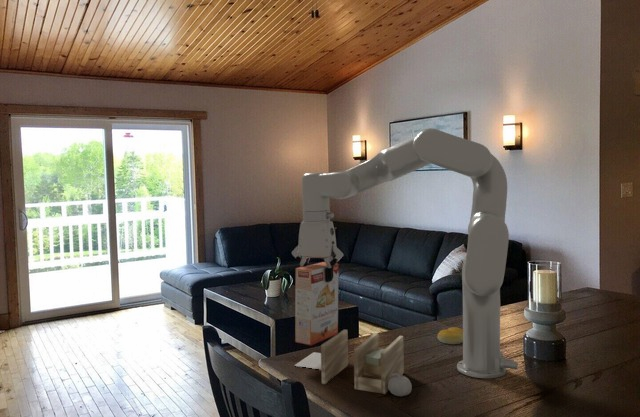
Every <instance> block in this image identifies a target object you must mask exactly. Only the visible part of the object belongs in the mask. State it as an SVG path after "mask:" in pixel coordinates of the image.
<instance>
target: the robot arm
mask: <svg viewBox="0 0 640 417" xmlns="http://www.w3.org/2000/svg"><path fill="white" fill-rule="evenodd" d="M430 165H434V166H436V167H439V168H442V169H445V170H449V171H451V172H454V173H457V174H460V175H463V176H466V177H469V178H470V179H471V182H472V186H473V187H472V188H473V192H472V202H471V203H472V205H471V211H470V217H469V223H468V226H467V235H468V237H467V245H466V246H467V247H466V254H465V255H466V256H465V259H464V261H463V263H462V268H461V280H462V281H461V282H462V283H461V284H462V330H463V343H462V360H460V361H458V363H457V364H456V369H457V371H458V372H459V373H461V375H462V374H463V375H465V376H467V377H471V378H477V379H495V378H501V377H503V376H505V375H506V374H507V369H510V370H517V371H518V368H519V362H518V361H515V359H512V358H506V357H504V352H501V287H502V285H503V283H504V279H505V278H504V277H505V272H506V267H507V266H506V264H507V257H508V250H509V249H508V248H509V241H510V240H509V237H510V233H509V227H508V225H507V223H506V211H507V201H508V200H507V199H508V179H507V174H506V171H505V169H504V168H503V166H502V164H501V162H500V161H499V160H498V158H497V157H496V156H495V155H494V154H492V153H491V151H490V149H488V147H486V146H485V145H484V144H482V143H479V142H475V141H473V140H469V139H466V138H464V137H459V136H457V135H453V134H451V133H448V132H445V131H443V130H440V129H437V128H433V127H432V128H425V129H423V130H421V131H420V132H419V133H418V134H416V135H414V136H412V137H410V138H408V139H405V140H403V141H400V142H398V143H396V144H394V145H392V146H389V147H387V148H384V149H383V150H381V151H379V152H378V153H377V154H376V155H374V157H372V158H370V159H368V160H366V161H364V162H362V163H359V164H358V165H356V166H353V167H351V168H349V169H346V170H342V171H341V170H340V171H335V172H328V173H326V172H306V173H304V174H303V175H302V176H301V196H302V197H301V198H302V203H301V204H302V221H301V222H300V225H299V230H298V231H299V233H298V245H297V246H296V247H295V248H294V249H293V250H292V251H291V255H292V256H293V257H294V259H296V261H297V262H298V263H299V265H300V266H299V267H304V266H308V265H309V262H310V259H311V258H314V259H323V260H324V261H323V262H325V263H326V265H327V268H325V281H326V282H330V281H332V279H333V267H334V266H335V264H336V263H337V264H338V262H339V261H341V259H342V257H344V253H343V252H342V251H341V250H340V249H339V248H338V247H337V238H336V231H335V227H334V225H335V224H334V223H333V221H331V219H333V218H334V217H335V213H333V212H331V210H330V199H335V200H345V199H348V198H351V197H353V196H356V195H358V194H360V193H363V192H365V191H367V190H369V189H372V188H374V187H377V186H379V185H381V184H384V183H388V182H393V181H395V180H397V179H399V178H401V177H403V176H406V175H408V174H411V173H412V172H415V171H418V170H420V169H422V168H424V167H427V166H430ZM334 256H335V257H334ZM333 257H334V258H333Z"/></svg>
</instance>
